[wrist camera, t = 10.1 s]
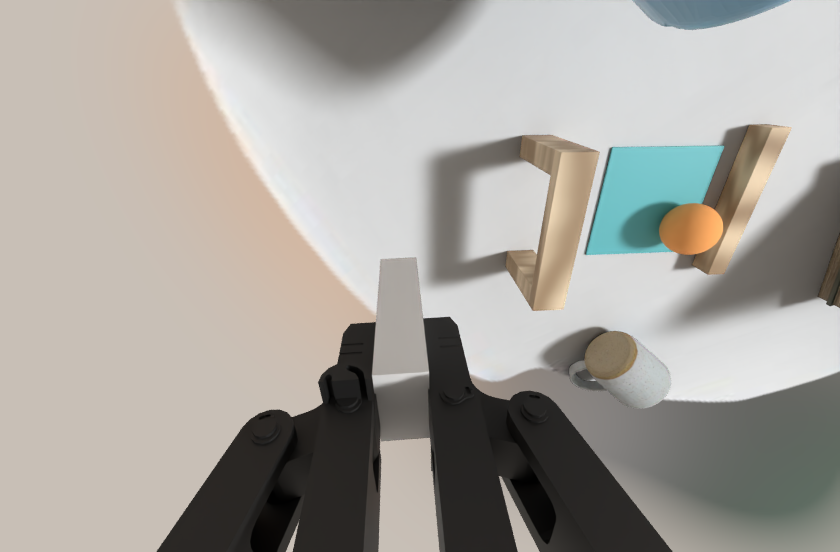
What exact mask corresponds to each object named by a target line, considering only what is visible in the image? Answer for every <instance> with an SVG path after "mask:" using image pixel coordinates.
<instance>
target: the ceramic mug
mask: <svg viewBox="0 0 840 552" xmlns="http://www.w3.org/2000/svg"><path fill="white" fill-rule="evenodd" d="M584 358H585V360H581V361H577V362H576V363H574V364H572V365H571V366H570V368H569V377H570V380H571V382H572V383H573V384H574V385H575V386H576V387H578V388H581V389H584V390H589V391H608V392H609V393H610V394H611V395H613V396H614V398H616V399H617V400H618V401H619V402H621V403H622V404H624V405H626V406H628V407H631V408H648V407H651V406H654V405H655V404H657V403H659V402H660V401H661V400H663V399H664V397H665V396H666V395H667V394H668V392H669V390H670V386H671V376H670V373H669V370H668V368H667V367H666V366H665V365H664V364H663V362H661V361H660V360H659V359H658V358H657V357H656V356H655V355H654V354H652V353H651V352H650V351H649V350H648V349H647V348H645V347H644V346H643V345H642V344H641V343H640V342H639V341H638V340H637V339H635V338H634V337H632V336H630V335H628V334H626V333H624V332H619V331H610V332H606V333H603V334H601V335H599V336H598V337H596V338H595V339H594V340H593V341H592V342H591V343H590V344H589V346H588V348H587V350H586V352H585V357H584ZM585 369H587V370H588V371H589V373H590V374H591V376H592V377H593V378H594V379H595V380H596V381H587V380H582V379H580V378H579V377H578V376H577V375H576V372H579V371H582V370H585Z"/></svg>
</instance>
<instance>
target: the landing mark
mask: <svg viewBox="0 0 840 552" xmlns="http://www.w3.org/2000/svg"><path fill="white" fill-rule="evenodd" d="M723 149H724V146H665V147H612V149H611V153H610V157H609V161H608V165H607V169H606V174H605V178H604V182H603V186H602V190H601V194H600V198H599V202H598V206H597V210H596V214H595V218H594V223H593V227H592V231H591V235H590V239H589V243H588V247H587V251H586V255H596V254H624V253H652V252H673V251H671V250H670V249H668V248H667V247H666V246H665V245H664V244H663V242H662V241H661V238H660V235H659V227H660V224H661V221H662V219H663V218H664V216H665V215H666V214H667V213H668V212H669V211H671V210H672V209H674V208H676V207H678V206H680V205H683V204H688V203H699V204H702V203H703V200H704V198H705V195H706V192H707V190H708V187H709V185H710V182H711V180H712V177H713V174H714V172H715V169H716V167H717V164H718V162H719V159H720V156H721V154H722V151H723Z"/></svg>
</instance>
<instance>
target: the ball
mask: <svg viewBox="0 0 840 552" xmlns="http://www.w3.org/2000/svg"><path fill="white" fill-rule="evenodd" d="M722 232H723V222H722V219H721V217H720V215H719V214H718V213H717V212H716V211H715V210H714V209H713V208H711V207H709V206H707V205H703V204H699V203H688V204H683V205H680V206H678V207H676V208H674V209H672V210H671V211H669V212H668V213H667V214H666V215H665V216H664V218H663V219H662V221H661V224H660V227H659V235H660V238H661V241H662V242H663V244H664V245H665V246H666V247H667V248H668V249H670V250H671V251H673V252H676V253H679V254H685V255H693V254H698V253H702V252H704V251H707V250H708V249H710V248H712V247H713V246H714V245H715V244H716V243H717V242H718V240H719V239H720V237H721V235H722Z"/></svg>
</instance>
